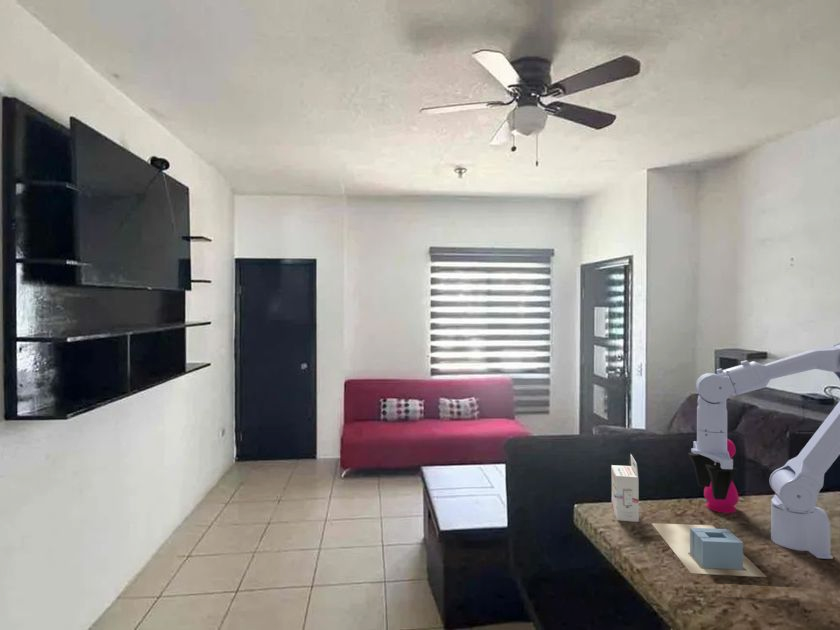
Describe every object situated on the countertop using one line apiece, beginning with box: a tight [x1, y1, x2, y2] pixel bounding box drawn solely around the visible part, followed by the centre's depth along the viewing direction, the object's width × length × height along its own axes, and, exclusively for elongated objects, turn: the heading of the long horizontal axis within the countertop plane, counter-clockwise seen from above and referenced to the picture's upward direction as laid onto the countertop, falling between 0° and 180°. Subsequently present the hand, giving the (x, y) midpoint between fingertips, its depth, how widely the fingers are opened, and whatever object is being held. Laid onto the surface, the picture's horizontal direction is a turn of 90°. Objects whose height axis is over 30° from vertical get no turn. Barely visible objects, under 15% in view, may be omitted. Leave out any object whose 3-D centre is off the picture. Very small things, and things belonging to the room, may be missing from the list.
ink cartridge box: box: [610, 453, 640, 523], centre depth 123 cm, size 9×5×15 cm, turn 168°
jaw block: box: [690, 528, 744, 570], centre depth 100 cm, size 7×6×5 cm
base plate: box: [651, 522, 768, 578], centre depth 106 cm, size 13×22×6 cm, turn 174°
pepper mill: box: [703, 438, 739, 514], centre depth 126 cm, size 7×7×20 cm
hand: (711, 492), depth 113 cm, fingers open, 7 cm apart
